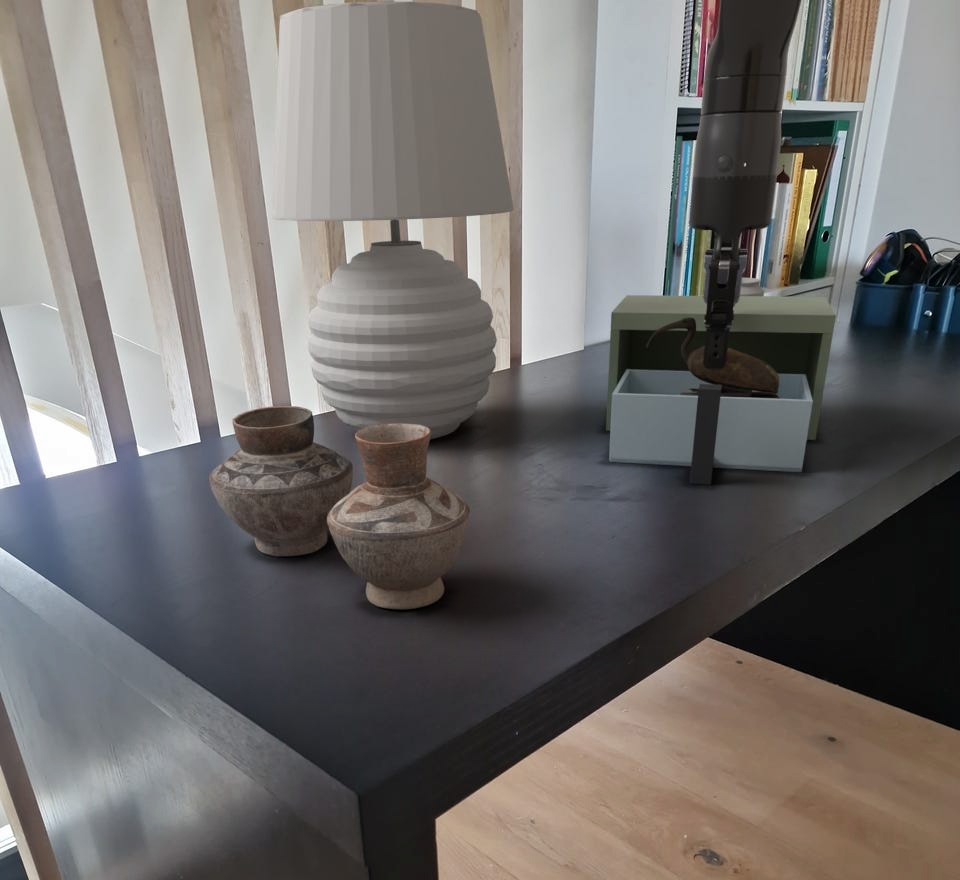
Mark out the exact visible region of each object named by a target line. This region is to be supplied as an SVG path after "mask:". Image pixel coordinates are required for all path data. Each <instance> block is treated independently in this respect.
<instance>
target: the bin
mask: <svg viewBox="0 0 960 880" xmlns="http://www.w3.org/2000/svg"><path fill="white" fill-rule="evenodd" d="M778 376H779V388H778V393H776V394H777V395H778V396H779V398H780V399H774V398H746V397H721V388H722V385H714V384H710V383H707V382H704V381H702V380H700V379H698V378H696V377H695V376H694V375H693V374H692V373H691V372H690V371H669V370H634V369H626V371H625V373H624V375H623V376H622V378H621V380H620V382H619V383H618V385H617V387H616V389H615V390H614V392H613V394H612V410H611V430H610V431H609V432H610V433H609V454H608V462H609V463H623V464H627V463H628V464H639V465H640V464H641V465H659V466H660V465H662V466H675V467H677V466H679V467H690V474H689V484H690V485H704V486H705V485H707V486H711V485H712V481H713V480H712V478H713V470H714V468H715V469H732V470H751V471H771V472H787V473H802V472H803V465H804V459H805V454H806V447H807V441H808V440H807V435H808V429H809V423H810V416H811V410H812V404H813V400H812V396H811V393H810V389H809V385H808V382H807V378H806V375H805V374H778ZM693 388H695V389H699V390H698V396H689V395H680V393H688V392H692V390H689V389H693ZM752 392H761V391H753V390H752Z"/></svg>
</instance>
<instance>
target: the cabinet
mask: <svg viewBox="0 0 960 880" xmlns="http://www.w3.org/2000/svg"><path fill="white" fill-rule="evenodd" d="M706 309H707V304H706V303H705V302H704V300H703V295H653V294H651V295H646V294H645V295H644V294H643V295H641V294H640V295H636V294H635V295H633V294H632V295H631V294H627V295H626V296H625V297H624V298H622V299H621V301H620V302H619V303H618V304H617V305H616V306H615V308H614V309H613V310H612V311H611V313H610V331H609V332H610V335H609V355H608V377H607V399H606V400H607V401H606V421H605V422H606V423H605V431H607V432H610V430H611V410H612V394H613V392H614V390H615V389H616V387H617V385H618V383H619V382H620V380H621V378H622V376H623V375H624V373H625V371H626V369H634V370H669V371H690V370H689V367H688V365H687V363H686V361H685V360H684V358H683V356H682V354H681V346H682V344H683V342H684V341H685V339H686V337H687V335H688V329H681V328H678V329H670V330H666V331H663V332H661V333H659V334H658V335H656V336H655V337H654V338H653V340H652V341H651V343H650V345H649V347H648V348H646V346H647V343H648V341H649V340H650V338H651V336H652V335H653V334H654V333H655V332H656V331H657V330H659V329H660V328H662V327H664V326H666V325H668V324H670V323H673V322H676V321H679V320H681V319H683V318H689V317H691V318H694V319H695V322H696V332H695V335H694V337H693V339H692V340H691V342H690V343H689V345H688V347H687V350H688V352H689V353H691V352H692V351H694V350H696V349H698V348H700V347H702V346H705V337H706V328H705V325H706V324H704V315H706ZM733 310H734V321H733V325H731V329H730V331H729V340H728V348H730V349H733V350H736V351H739V352H741V353H744V354H747V355H749V356H752V357H754V358H757V359H759V360H762V361H764V362H766V363H767V364H768V365H769V366H771V367H772V368H774V370H775V371H776V372H777V374H805V375H806V378H807V382H808V385H809V389H810V393H811V396H812V400H813V404H812V410H811V416H810V423H809V429H808V435H807V441H816V439H817V433H818V428H819V419H820V414H821V409H822V403H823V396H824V390H825V385H826V378H827V372H828V366H829V361H830V360H829V359H830V354H831V349H832V342H833V336H834V335H833V333H834V329H835V325H836V317H837V315H836V313H835V311H834V309H833V308H832V306H831V304H830V302H829V300H828V298H827V297H826V296H783V295H781V296H780V295H779V296H777V295H775V296H772V295H771V296H770V295H768V296H767V295H764V296H740V299H739V301H738V303H736V304H735V306H733Z"/></svg>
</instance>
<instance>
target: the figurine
mask: <svg viewBox="0 0 960 880" xmlns="http://www.w3.org/2000/svg"><path fill="white" fill-rule="evenodd" d="M678 328H681V329H688V335H687V337H686V339H685V341H684V342H683V344H682V346H681V354H682V356H683V358H684V360H685V361H686V363H687V365H688V367H689V370H690V372H691V373H692V374H693V375H694V376H695V377H696V378H698V379H700V380H702V381H704V382H707V383H710V384H714V385H722V388H721V397H746V398H774V399H780V398H779V396H778V395H777V394H776V393H778V388H779V376H778V374H777V372H776V371H775V370H774V368H772V367H771V366H769V365H768V364H767V363H766V362H764V361H762V360H759V359H757V358H754V357H752V356H749V355H747V354H744V353H741V352H739V351H736V350H733V349H730V348H728V349H727V358H726V365H725V367H724V368H721V369H716V368H705V367H704V366H703V358H704V348H705V346H702V347H700V348H698V349H696V350H694V351H692V352H691V353H689V352H688V350H687V347H688V345H689V343H690V342H691V340H692V339H693V337H694V335H695V332H696V322H695V319H694V318H691V317H689V318H683V319H681V320H679V321H676V322H673V323H670V324H668V325H666V326H664V327H662V328H660V329H659V330H657V331H656V332H655V333H654V334H653V335H652V336H651V338H650V340H649V341H648V343H647V346H646V348H648V347H649V345H650V343H651V341H652V340H653V338H654V337H655V336H656V335H658V334H659V333H661V332H663V331H666V330H670V329H678ZM689 390H692V392H688V393H680V395H689V396H698V390H699V389H695V388H693V389H689ZM752 390H753V391H761V392H752Z"/></svg>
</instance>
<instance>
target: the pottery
mask: <svg viewBox="0 0 960 880" xmlns="http://www.w3.org/2000/svg"><path fill="white" fill-rule="evenodd" d="M313 415H314V414H313V411H312V410H310V409H308V408H306V407H301V406H297V405H296V406H294V405H273V406H265V407H264V406H263V407H259V408H254V409H251V410H248V411H244V412H241V413H239V414H237V415H236V416H234V417H233V418H232V421H231V423H232V426H233V432H234V434H235V435H234V436H235V437H236V440H237V442H238V445H239V447H240V449H239V450H236V451H235V452H233V454H231V455H229V456H228V457H227V458H226V459H224V461H222V462H221V463H219V464H218V465H217V466H216V468H214V469H213V470H212V471H211V472H210V473H209V476H208V481H209V485H210V489H211V491H212V493H213V496H214V498H215V500H216V502H217V503H218V505H219V507H220V508H221V509H222V511H223V512H224V513H225V515H226V516H227V517H228V518H229V519H230V520H231V521H232V522H233V523H234V524H235V525H236V526H237V527H239V528H240V529H241V530H242V531H244V532H245V533H247V534H248V535H250V536H252V537H254V544H255V546H256V548H257V550H258V551H260V552H261V553H263V554H265V555H269V556H271V557H298V556H299V557H300V556H304V555H310V554H313V553H315V552H317V551H318V550H320V549H322V548H323V547H324V546H325V545H326V544H327V542H328V532H327V529H329V532H330V535H331V537H332V540H333V542H334V544H335V546H336V548H337V550H338V553H339V555H341V558H342V559H343V560H344V562H345V563H346V564H347V565H348V567H349V568H350V569H351V570H352V571H353V572H354V573H355V574H356V575H357V576H359V578H360V579H363V580H364V581H365V582H366V587H365V596H366V598H367V600H368V601H369V602H370V603H371V604H372V605H374V606H376V607H379V608H383V609H390V610H412V609H413V610H414V609H418V608H423V607H426V606H430V605H431V604H434V603H436V602H437V601H439V600H440V599H441V598H442V596H443V595H444V592H445V586H444V583H443V580H442V576H444V574H446V573H447V572H448V571H449V569H450V568H451V567H452V566H453V564H454V562H455V561H456V560H457V557H458V555H459V553H460V550H461V548H462V546H463V545H462V544H463V541H464V539H465V536H466V532H467V528H468V524H469V518H470V512H471V510H470V506H469V504H468V503H467V502H466V501H465V500H464V499H463V498H462V497H461V496H460V495H458V494H457V493H456V492H455V491H453V490H451V489H449V488H448V487H445V486H444V485H442V484H440V483H439V482H437V481H434V480H433V479H431V478H429V477H427V462H428V461H427V460H428V451H429V446H430V441H431V440H430V434H431V432H430V429H429V428H428V427H426V426H422V425H417V424H383V425H375V426H370V427H367V428H364V429H362V430H359V431H358V430H357V431H356V432H355V435H354V439H355V442H356V445H357V448H358V451H359V454H360V457H361V461H362V466H363V467H362V468H363V471H364V475H365V479H366V481H364V482H363V483H361V484H359V485H357V486H356V487H355V488H354V489H353V490H351V489H352V486H353V477H354V467H353V466H354V465H353V463H352V462H351V461H350V459H348V458H347V457H345V456H344V455H342V454H340V453H339V452H337V451H335V450H333V449H331V448H329V447H327V446H325V445H322V444H320V443H317V442H314V438H315V422H314V416H313Z"/></svg>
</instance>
